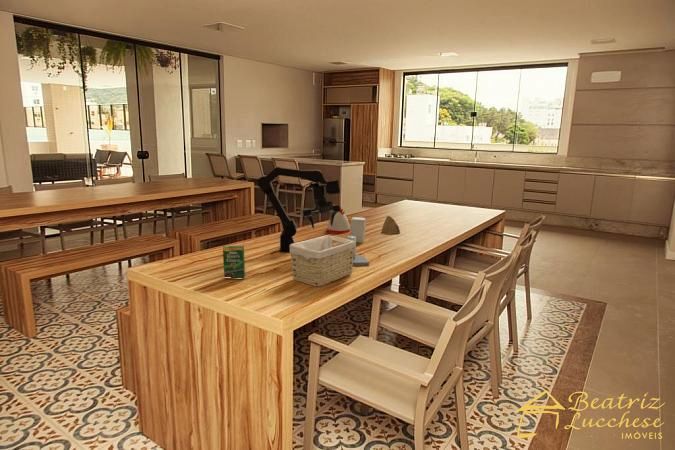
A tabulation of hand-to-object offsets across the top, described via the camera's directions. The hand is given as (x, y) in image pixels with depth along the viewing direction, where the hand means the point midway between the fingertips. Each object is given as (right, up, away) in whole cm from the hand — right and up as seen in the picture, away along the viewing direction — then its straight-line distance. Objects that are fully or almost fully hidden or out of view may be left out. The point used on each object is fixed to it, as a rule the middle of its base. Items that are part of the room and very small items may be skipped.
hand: (322, 227), depth 214 cm
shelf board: (+13, -16, -15) cm, 26 cm away
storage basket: (+1, -20, -37) cm, 42 cm away
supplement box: (+18, -8, +26) cm, 33 cm away
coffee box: (-33, -20, -42) cm, 57 cm away
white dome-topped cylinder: (+13, -14, -14) cm, 24 cm away
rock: (+40, -4, +49) cm, 63 cm away
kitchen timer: (+8, -3, +50) cm, 51 cm away
